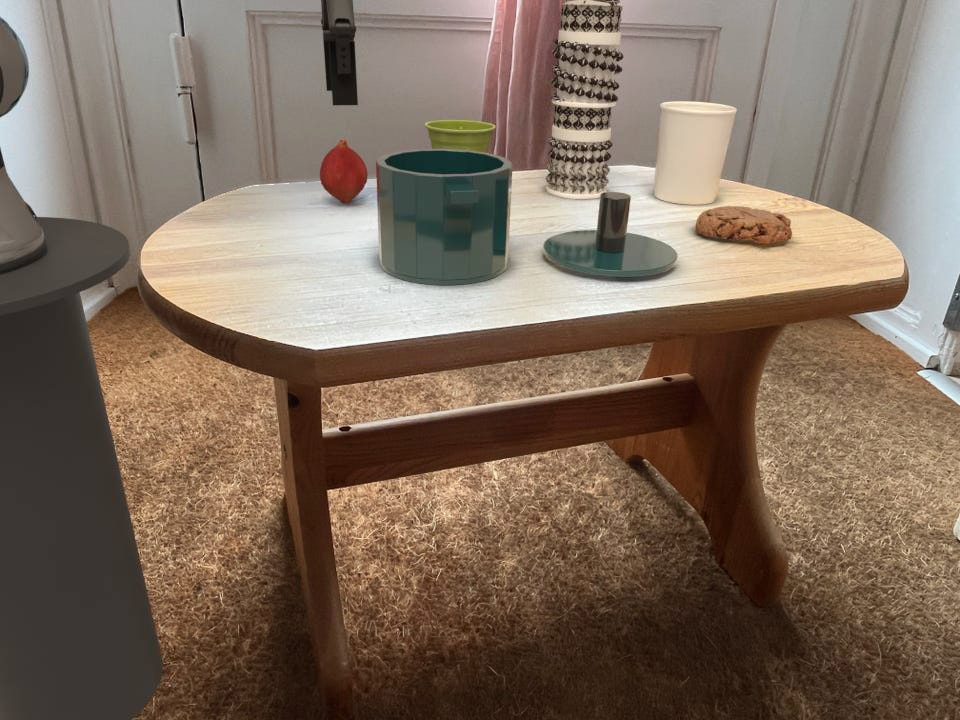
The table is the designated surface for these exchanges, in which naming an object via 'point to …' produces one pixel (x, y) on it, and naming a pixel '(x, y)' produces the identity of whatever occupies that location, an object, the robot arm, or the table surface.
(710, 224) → the cookie
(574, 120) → the decorative candle
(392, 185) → the pot
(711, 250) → the table surface
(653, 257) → the pot lid
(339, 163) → the onion
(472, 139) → the plant pot
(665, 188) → the white cup
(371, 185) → the table surface
